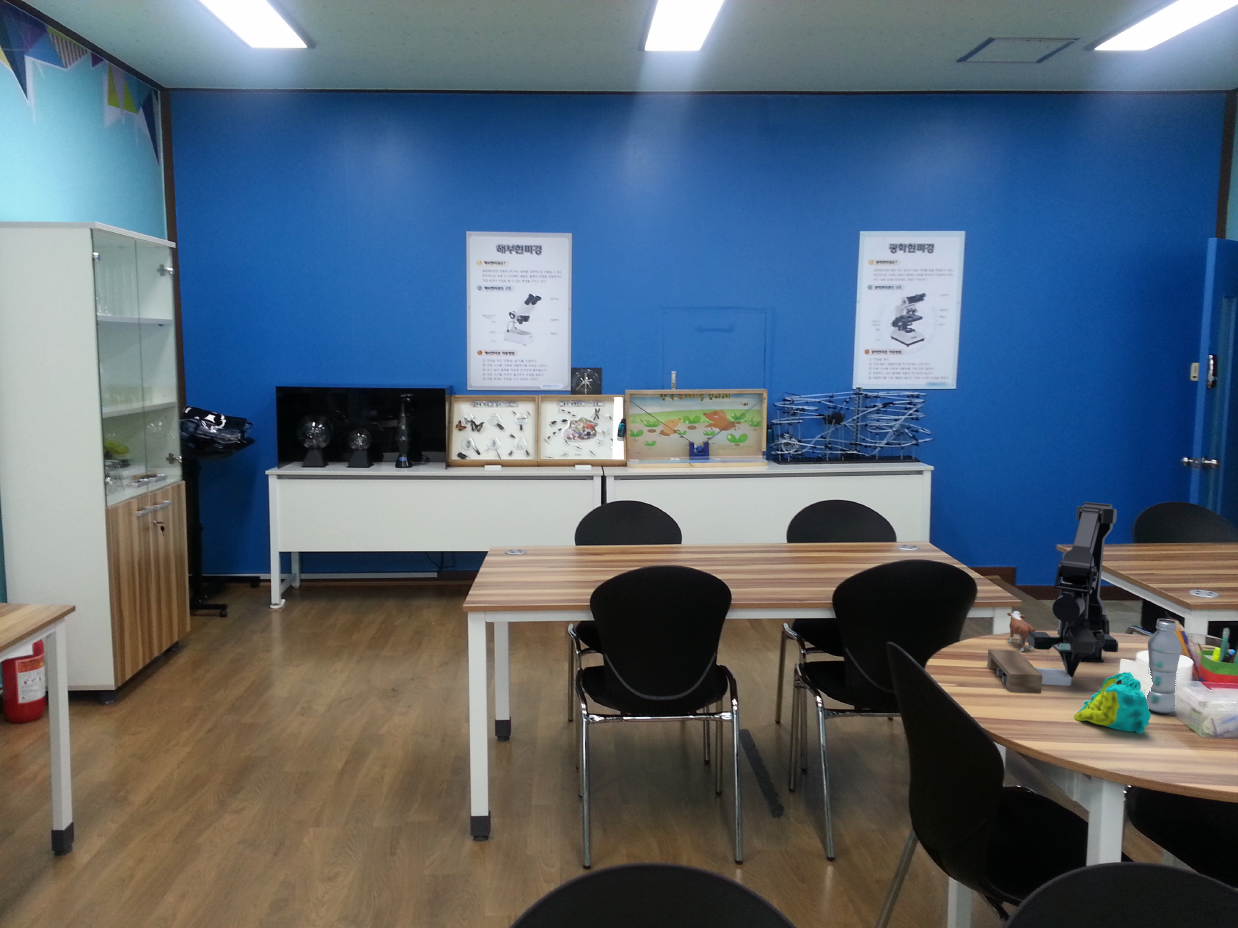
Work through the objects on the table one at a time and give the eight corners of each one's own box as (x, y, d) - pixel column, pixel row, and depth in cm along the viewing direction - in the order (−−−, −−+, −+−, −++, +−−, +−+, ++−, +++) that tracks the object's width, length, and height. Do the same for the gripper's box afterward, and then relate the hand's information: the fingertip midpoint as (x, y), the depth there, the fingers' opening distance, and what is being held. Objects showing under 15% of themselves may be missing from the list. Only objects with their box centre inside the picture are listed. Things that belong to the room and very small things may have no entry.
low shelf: (1016, 667, 233) (1017, 650, 233) (1041, 692, 215) (1042, 675, 215) (987, 665, 234) (988, 649, 233) (1009, 691, 216) (1010, 673, 216)
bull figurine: (1019, 638, 257) (1021, 609, 256) (1036, 654, 244) (1038, 623, 243) (1003, 637, 257) (1004, 608, 256) (1018, 653, 244) (1020, 622, 243)
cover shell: (1061, 676, 226) (1062, 668, 226) (1070, 685, 221) (1071, 677, 220) (1013, 674, 228) (1014, 666, 227) (1021, 683, 222) (1022, 675, 221)
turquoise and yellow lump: (1057, 689, 198) (1083, 650, 205) (1077, 734, 201) (1101, 694, 208) (1131, 698, 186) (1155, 656, 193) (1150, 745, 189) (1174, 702, 196)
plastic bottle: (1144, 714, 203) (1151, 623, 201) (1140, 703, 210) (1147, 615, 207) (1179, 718, 201) (1186, 627, 199) (1173, 707, 207) (1181, 618, 205)
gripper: (1044, 620, 214) (1040, 687, 216) (1130, 623, 213) (1126, 690, 214) (1028, 607, 225) (1024, 671, 227) (1110, 610, 224) (1106, 674, 225)
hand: (1069, 676), depth 223 cm, fingers closed
